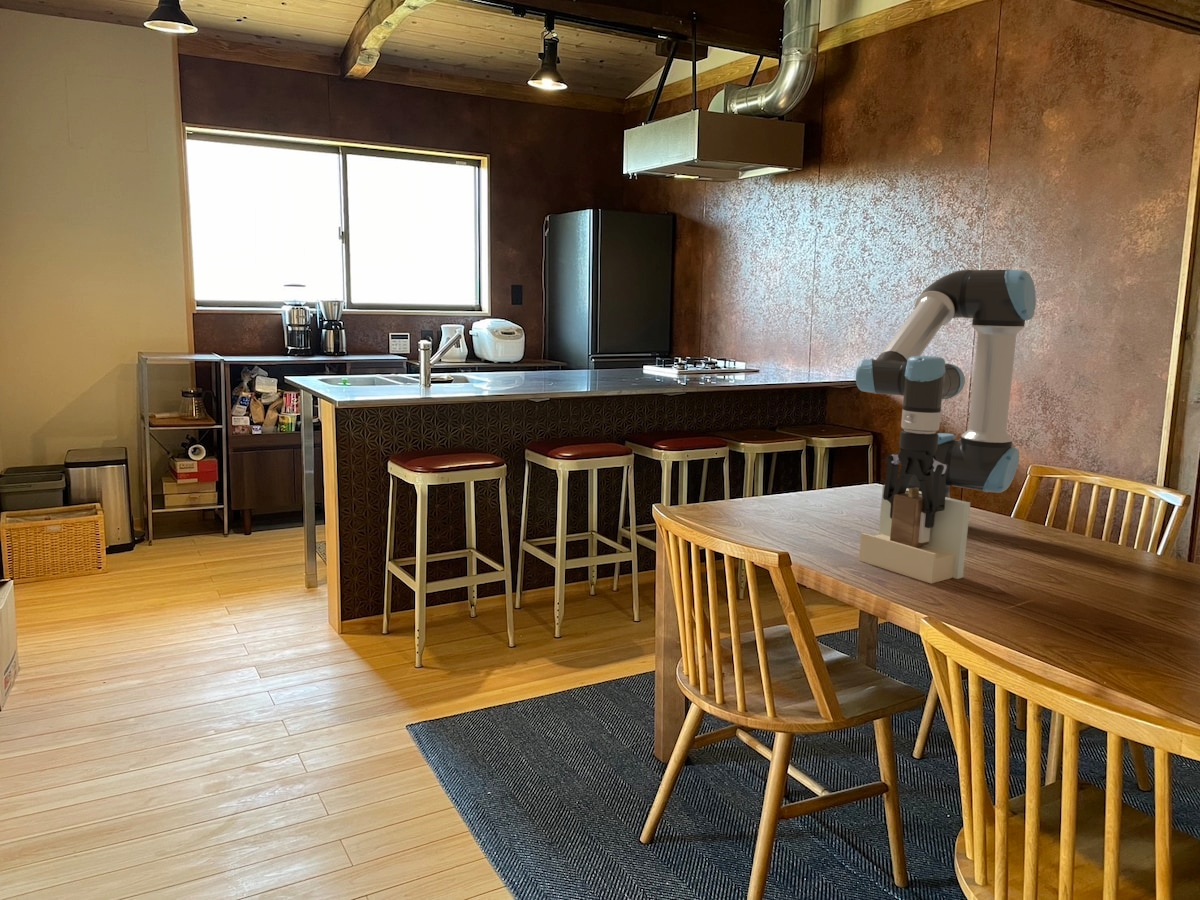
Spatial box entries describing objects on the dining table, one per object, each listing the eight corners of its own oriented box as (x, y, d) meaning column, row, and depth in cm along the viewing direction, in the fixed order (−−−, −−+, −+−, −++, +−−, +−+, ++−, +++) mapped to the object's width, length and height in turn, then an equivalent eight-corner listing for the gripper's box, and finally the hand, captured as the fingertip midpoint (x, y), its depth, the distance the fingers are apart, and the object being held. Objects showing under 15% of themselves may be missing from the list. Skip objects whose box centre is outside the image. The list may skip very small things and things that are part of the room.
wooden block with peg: (904, 537, 187) (909, 484, 185) (928, 544, 183) (933, 489, 181) (889, 540, 185) (894, 486, 182) (913, 547, 180) (918, 492, 178)
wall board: (882, 553, 195) (888, 484, 193) (962, 577, 179) (970, 502, 177) (855, 559, 190) (860, 488, 187) (935, 585, 174) (942, 508, 171)
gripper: (870, 425, 185) (862, 530, 189) (949, 438, 170) (938, 551, 174) (892, 423, 189) (883, 525, 193) (971, 436, 174) (960, 546, 178)
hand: (909, 537), depth 184 cm, fingers closed on wooden block with peg, 6 cm apart
